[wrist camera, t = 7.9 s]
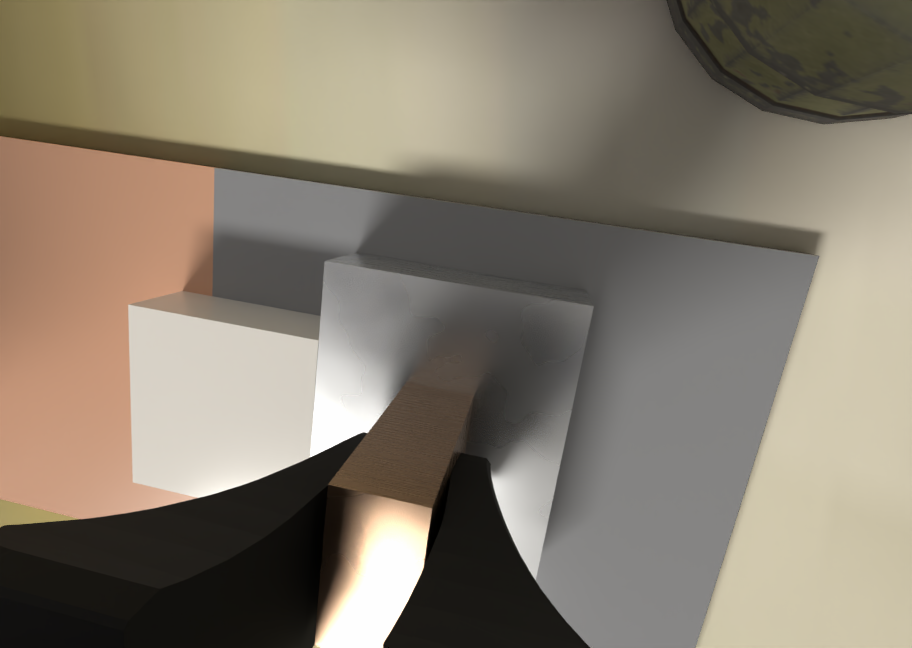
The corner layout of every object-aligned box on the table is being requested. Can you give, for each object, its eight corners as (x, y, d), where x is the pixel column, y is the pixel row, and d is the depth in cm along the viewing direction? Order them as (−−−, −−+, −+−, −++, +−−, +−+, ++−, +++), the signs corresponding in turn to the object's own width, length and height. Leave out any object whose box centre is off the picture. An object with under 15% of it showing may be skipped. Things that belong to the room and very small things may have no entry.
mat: (9, 489, 18) (-5, 497, 18) (-25, 132, 15) (-43, 130, 15) (683, 657, 15) (687, 671, 15) (808, 253, 12) (819, 256, 12)
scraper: (332, 515, 16) (191, 724, 9) (356, 252, 14) (195, 297, 7) (530, 562, 15) (518, 822, 9) (587, 290, 13) (624, 375, 7)
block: (182, 448, 16) (132, 482, 14) (182, 290, 15) (128, 304, 13) (335, 483, 15) (305, 523, 14) (349, 321, 14) (318, 340, 12)
